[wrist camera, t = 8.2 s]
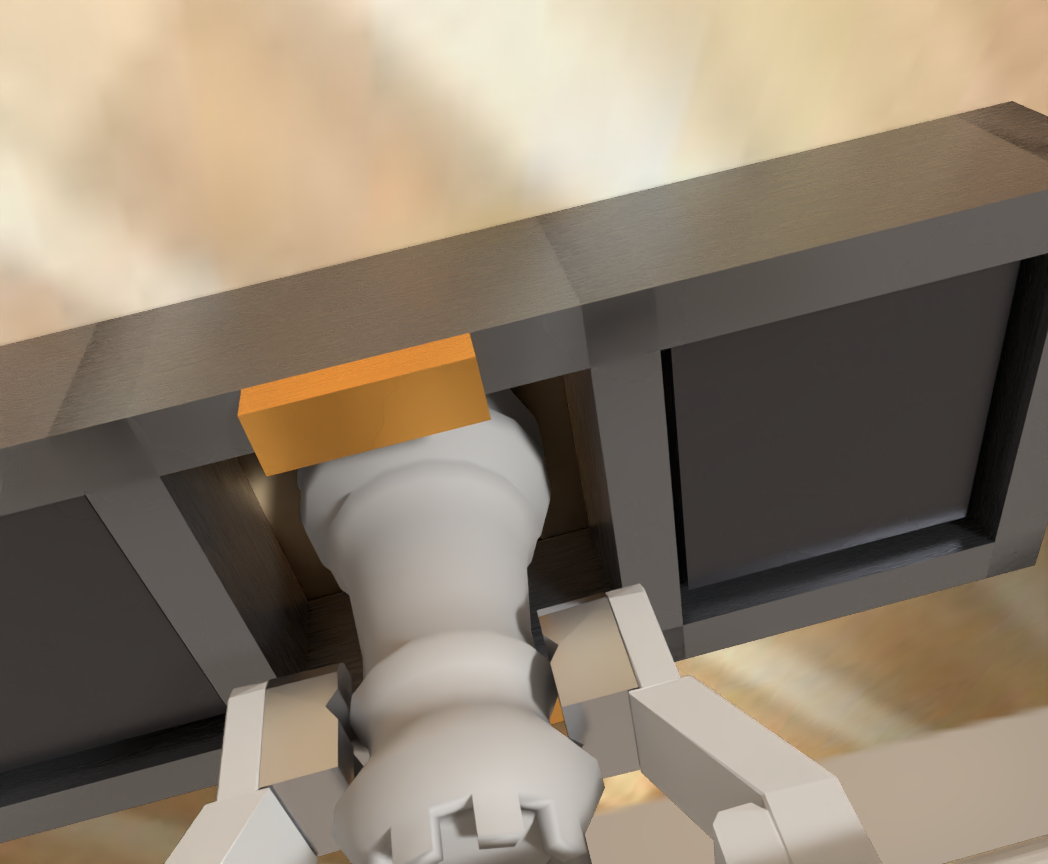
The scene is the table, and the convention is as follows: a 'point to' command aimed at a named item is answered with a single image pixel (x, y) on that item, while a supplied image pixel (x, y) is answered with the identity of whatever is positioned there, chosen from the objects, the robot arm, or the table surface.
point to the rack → (597, 422)
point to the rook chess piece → (450, 650)
